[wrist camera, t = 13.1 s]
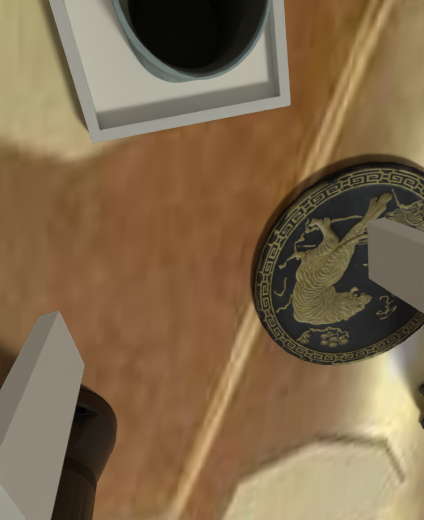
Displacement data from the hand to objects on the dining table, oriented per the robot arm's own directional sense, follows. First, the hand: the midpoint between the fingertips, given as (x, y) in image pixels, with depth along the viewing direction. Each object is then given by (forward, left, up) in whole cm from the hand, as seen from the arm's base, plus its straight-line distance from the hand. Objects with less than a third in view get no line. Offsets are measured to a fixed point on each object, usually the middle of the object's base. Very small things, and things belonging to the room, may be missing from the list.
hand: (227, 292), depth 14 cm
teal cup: (+3, +14, -25) cm, 29 cm away
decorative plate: (+22, -17, -26) cm, 38 cm away
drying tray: (+3, +14, -26) cm, 29 cm away
